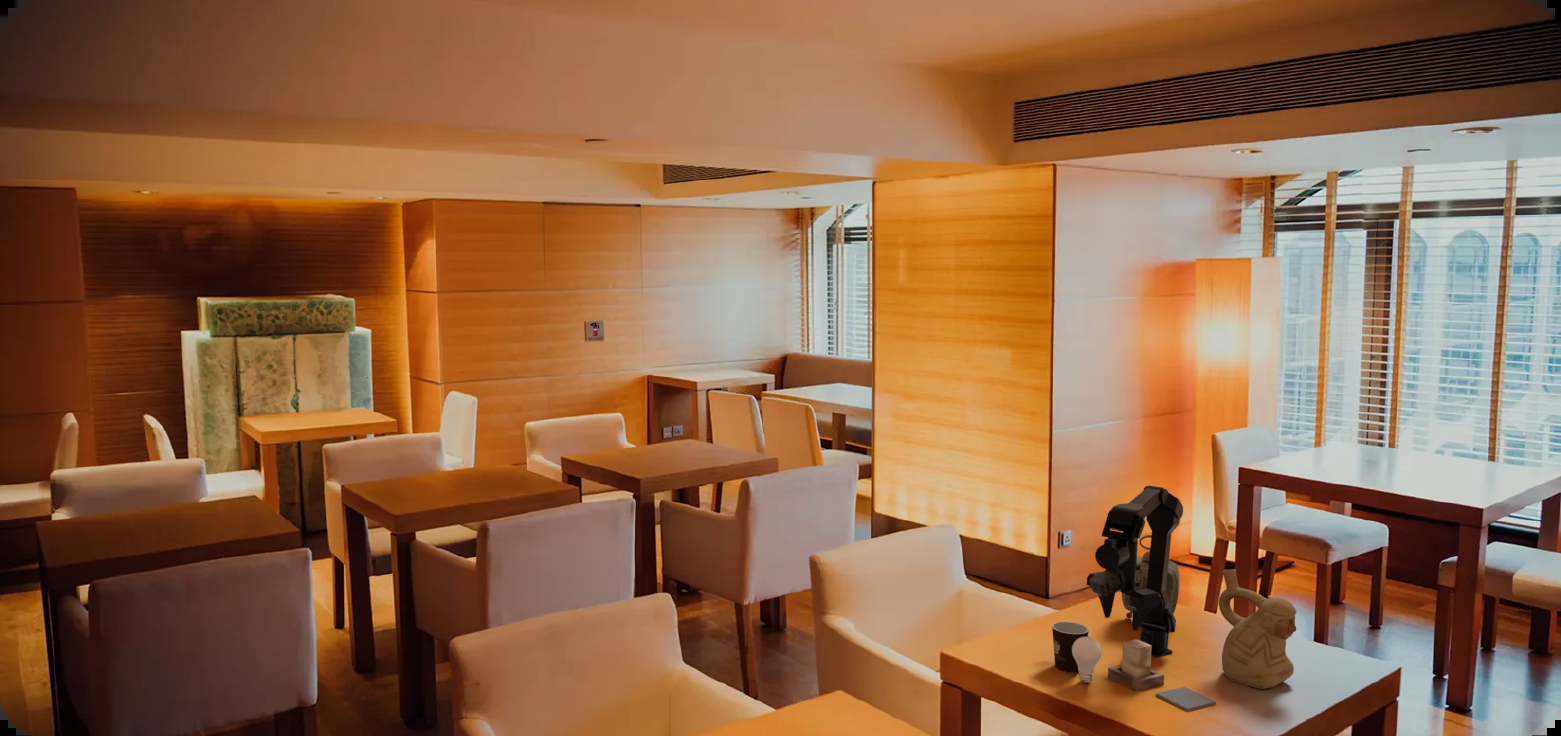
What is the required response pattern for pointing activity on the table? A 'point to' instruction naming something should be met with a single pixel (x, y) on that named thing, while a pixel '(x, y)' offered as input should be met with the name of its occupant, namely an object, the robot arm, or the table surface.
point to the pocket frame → (1132, 682)
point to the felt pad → (1185, 698)
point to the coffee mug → (1066, 644)
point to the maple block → (1136, 658)
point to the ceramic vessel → (1256, 637)
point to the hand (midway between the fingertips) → (1121, 623)
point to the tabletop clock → (1141, 577)
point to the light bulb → (1086, 657)
